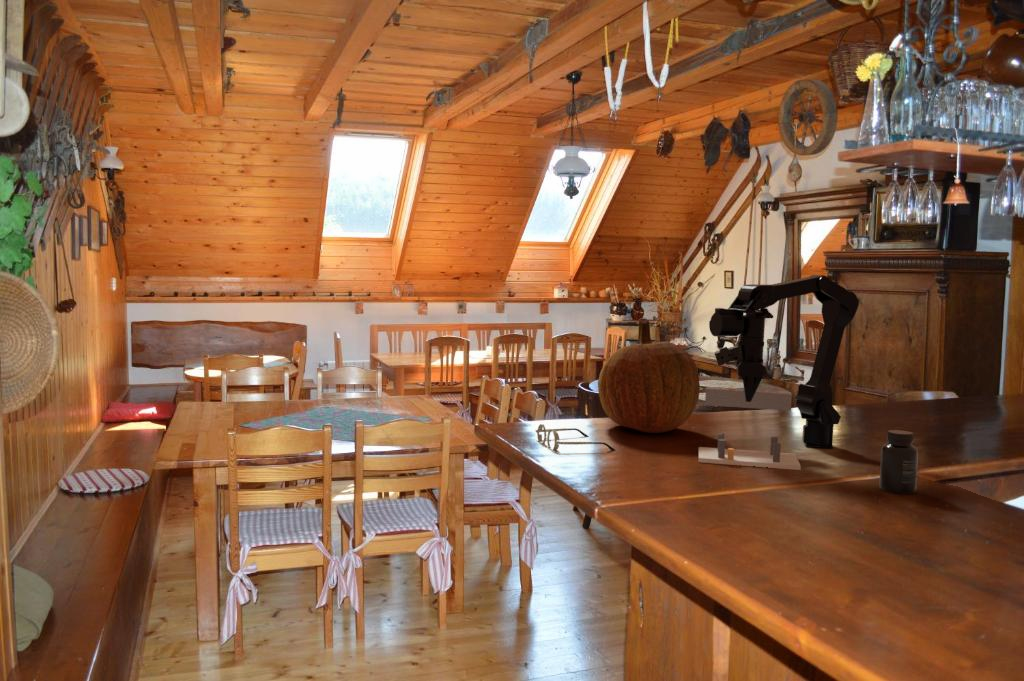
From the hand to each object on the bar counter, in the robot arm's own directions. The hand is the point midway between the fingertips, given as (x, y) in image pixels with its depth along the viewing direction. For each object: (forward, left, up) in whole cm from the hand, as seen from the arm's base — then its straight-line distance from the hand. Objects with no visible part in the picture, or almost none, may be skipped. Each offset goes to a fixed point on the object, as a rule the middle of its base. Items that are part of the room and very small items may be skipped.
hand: (748, 400), depth 203 cm
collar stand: (0, +12, -12) cm, 17 cm away
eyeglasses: (+41, +9, -13) cm, 44 cm away
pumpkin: (+26, -15, -12) cm, 32 cm away
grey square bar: (0, 0, -2) cm, 2 cm away
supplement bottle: (-28, +29, -12) cm, 43 cm away
